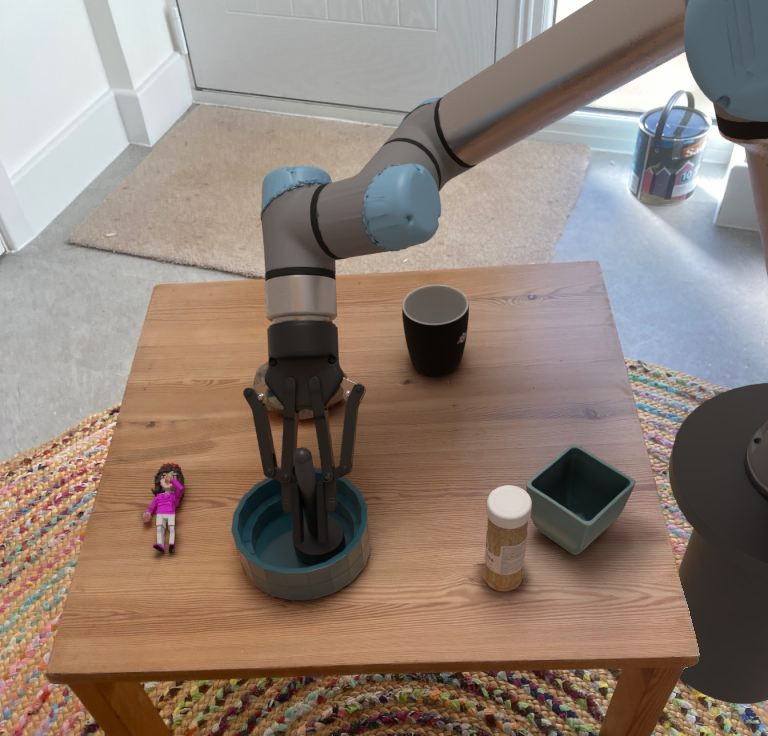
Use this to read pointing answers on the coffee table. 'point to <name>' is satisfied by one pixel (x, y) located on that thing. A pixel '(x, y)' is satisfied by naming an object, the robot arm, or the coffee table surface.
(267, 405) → the rock
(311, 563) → the peg on disc base
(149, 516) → the character figurine
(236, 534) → the bowl
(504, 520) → the spice jar
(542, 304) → the coffee table surface
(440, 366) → the mug
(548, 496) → the flower pot
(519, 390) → the coffee table surface
